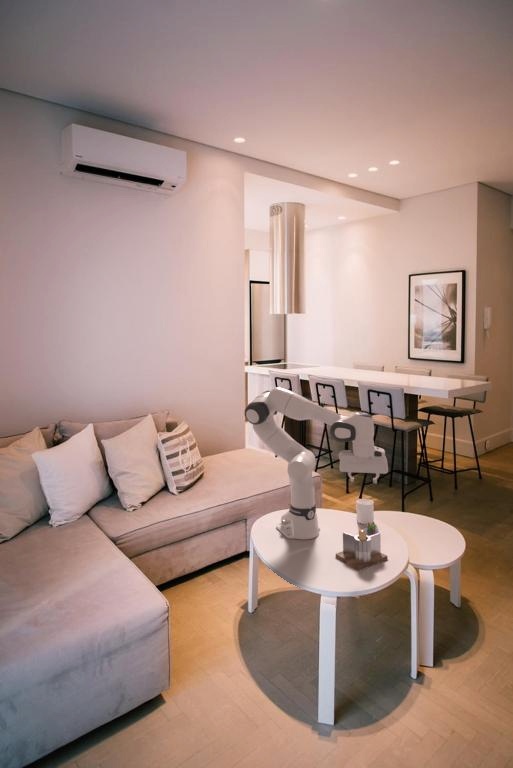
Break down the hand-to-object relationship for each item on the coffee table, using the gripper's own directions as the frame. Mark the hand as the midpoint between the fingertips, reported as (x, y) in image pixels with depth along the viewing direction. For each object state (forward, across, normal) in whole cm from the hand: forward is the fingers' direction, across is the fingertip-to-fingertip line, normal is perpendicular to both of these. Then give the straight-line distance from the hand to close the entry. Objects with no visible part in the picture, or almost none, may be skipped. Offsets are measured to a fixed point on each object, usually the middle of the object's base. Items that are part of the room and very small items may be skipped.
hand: (363, 482), depth 198 cm
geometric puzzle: (+31, +3, +15) cm, 34 cm away
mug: (+31, 0, +35) cm, 47 cm away
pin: (+29, 0, -10) cm, 31 cm away
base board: (+31, -1, -6) cm, 31 cm away
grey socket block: (+29, 0, -5) cm, 30 cm away
